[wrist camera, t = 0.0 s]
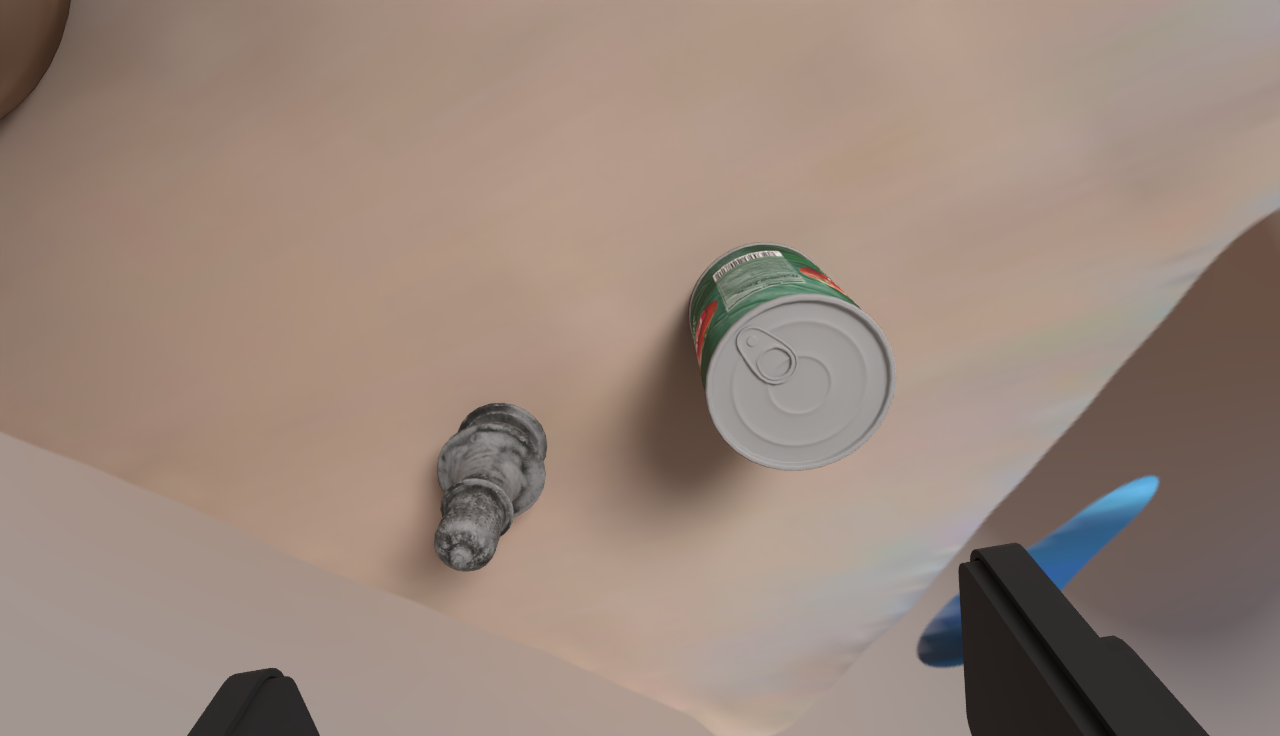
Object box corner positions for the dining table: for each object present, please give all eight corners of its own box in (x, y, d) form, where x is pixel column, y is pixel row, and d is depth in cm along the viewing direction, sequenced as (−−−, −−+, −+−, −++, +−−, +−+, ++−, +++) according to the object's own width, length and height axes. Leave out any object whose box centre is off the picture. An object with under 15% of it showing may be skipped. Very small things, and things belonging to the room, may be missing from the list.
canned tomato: (861, 309, 41) (937, 383, 31) (757, 405, 43) (796, 505, 33) (761, 210, 39) (807, 253, 29) (658, 315, 41) (666, 392, 31)
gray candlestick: (501, 378, 42) (452, 483, 31) (572, 447, 44) (551, 571, 32) (431, 441, 43) (360, 563, 32) (503, 505, 45) (459, 644, 34)
